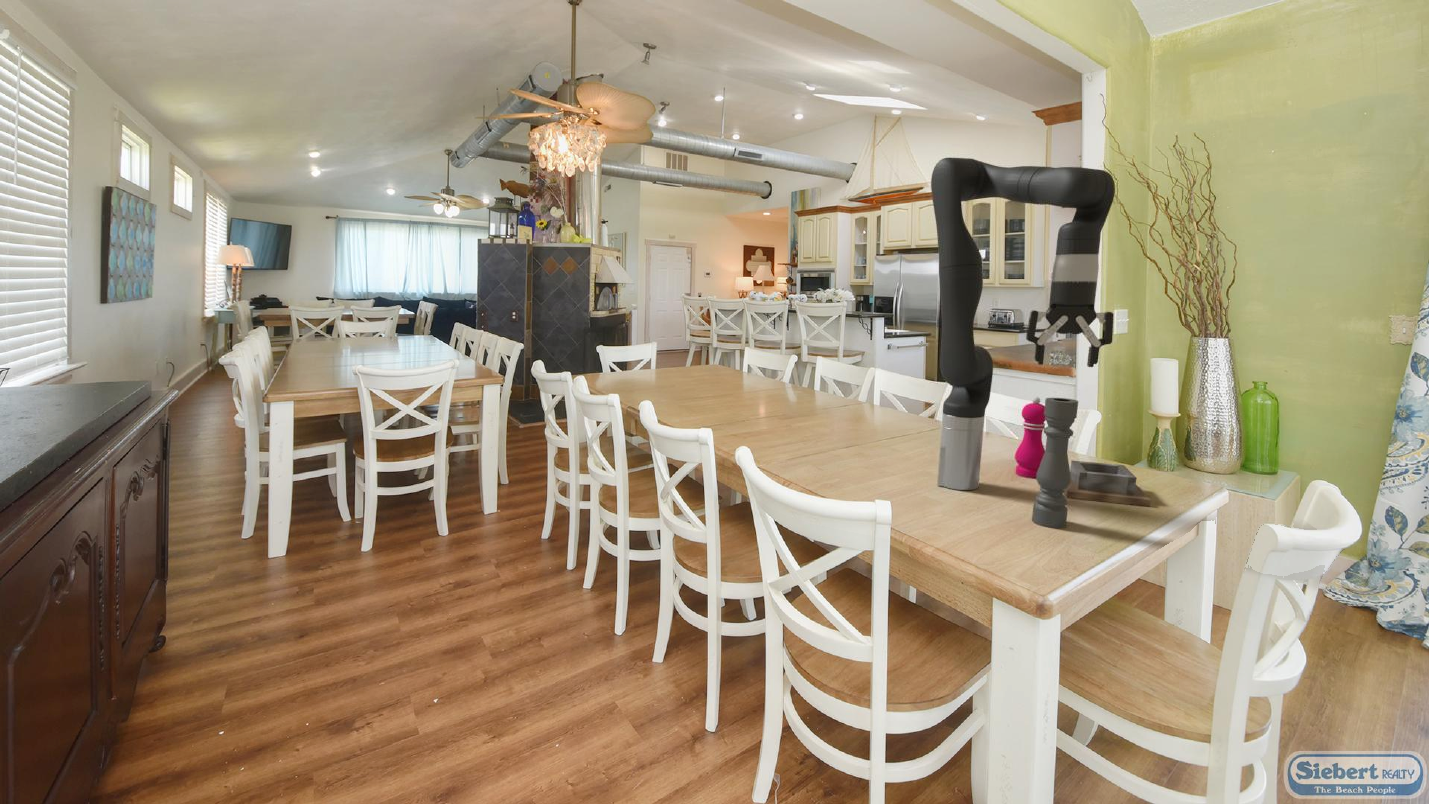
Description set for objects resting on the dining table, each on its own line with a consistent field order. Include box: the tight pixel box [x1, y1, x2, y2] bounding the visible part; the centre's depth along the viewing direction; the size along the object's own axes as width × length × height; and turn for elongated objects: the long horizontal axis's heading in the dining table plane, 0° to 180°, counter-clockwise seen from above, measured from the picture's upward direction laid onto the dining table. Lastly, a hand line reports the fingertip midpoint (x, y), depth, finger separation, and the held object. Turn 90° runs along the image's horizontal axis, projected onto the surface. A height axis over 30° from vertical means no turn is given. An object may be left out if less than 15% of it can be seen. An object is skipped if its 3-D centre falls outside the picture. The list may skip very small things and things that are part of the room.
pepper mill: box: [1014, 396, 1047, 479], centre depth 159 cm, size 7×7×20 cm
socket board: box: [1063, 460, 1152, 507], centre depth 147 cm, size 16×16×6 cm
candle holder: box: [1031, 397, 1079, 529], centre depth 125 cm, size 6×6×25 cm
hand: (1065, 365), depth 122 cm, fingers open, 8 cm apart
